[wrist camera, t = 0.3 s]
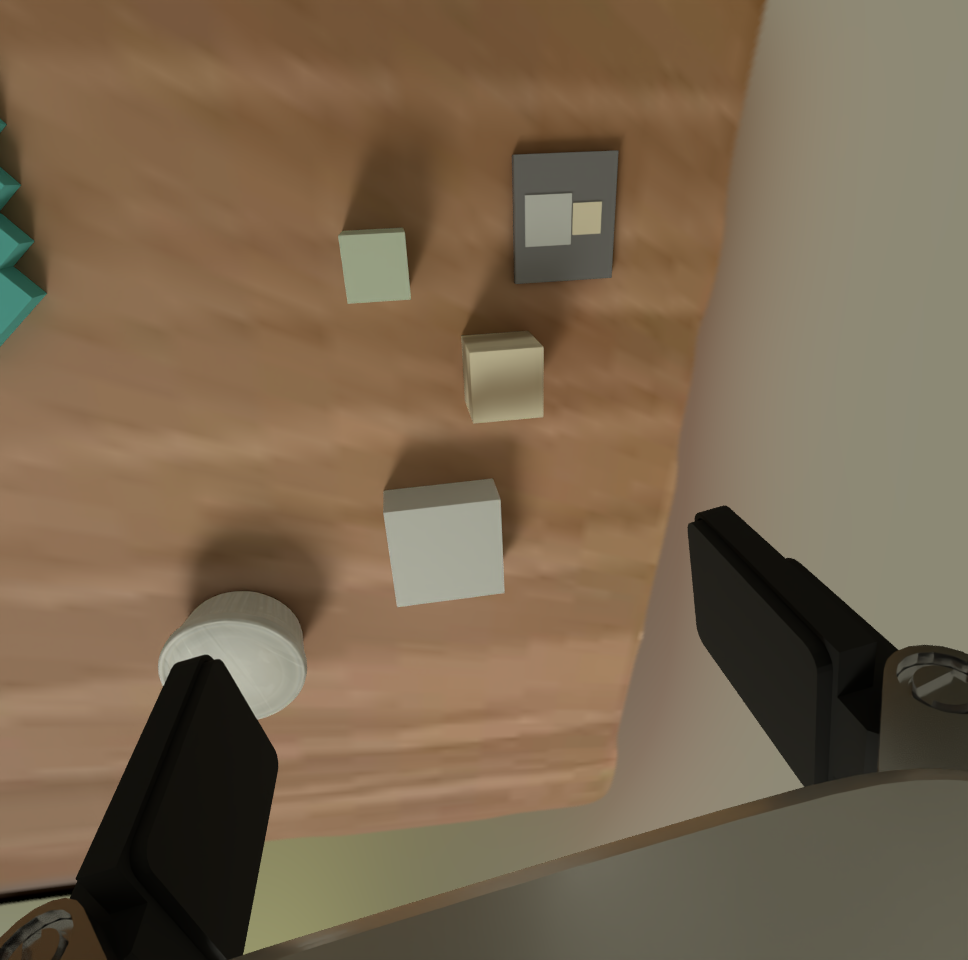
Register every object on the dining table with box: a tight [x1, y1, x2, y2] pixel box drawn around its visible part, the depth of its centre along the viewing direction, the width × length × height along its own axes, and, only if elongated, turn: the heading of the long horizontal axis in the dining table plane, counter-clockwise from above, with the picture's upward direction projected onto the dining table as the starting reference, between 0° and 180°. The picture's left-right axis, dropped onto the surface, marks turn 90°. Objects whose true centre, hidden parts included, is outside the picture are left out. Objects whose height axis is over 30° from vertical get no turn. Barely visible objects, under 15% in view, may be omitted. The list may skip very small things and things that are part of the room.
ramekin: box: [158, 591, 307, 720], centre depth 50 cm, size 11×11×5 cm
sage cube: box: [338, 228, 411, 304], centre depth 39 cm, size 4×4×4 cm
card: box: [512, 151, 618, 284], centre depth 41 cm, size 8×7×1 cm
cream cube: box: [461, 331, 544, 423], centre depth 43 cm, size 5×5×5 cm
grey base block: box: [383, 478, 504, 607], centre depth 49 cm, size 9×9×4 cm
